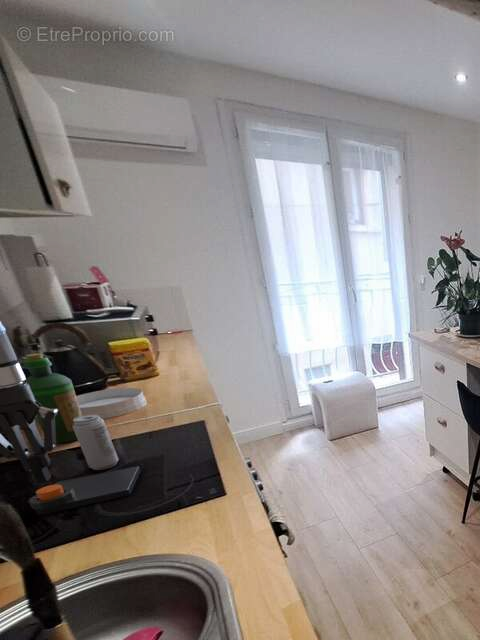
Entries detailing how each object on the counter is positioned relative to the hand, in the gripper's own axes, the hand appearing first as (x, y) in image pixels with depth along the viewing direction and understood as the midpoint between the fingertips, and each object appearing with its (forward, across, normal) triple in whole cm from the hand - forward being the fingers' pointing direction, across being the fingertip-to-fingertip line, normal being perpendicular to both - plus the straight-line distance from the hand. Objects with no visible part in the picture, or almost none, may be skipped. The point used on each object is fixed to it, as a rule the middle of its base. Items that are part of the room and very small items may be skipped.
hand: (44, 479), depth 96 cm
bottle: (+8, +10, -50) cm, 51 cm away
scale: (+8, -5, -5) cm, 10 cm away
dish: (+8, +6, -77) cm, 77 cm away
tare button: (+5, 0, 0) cm, 5 cm away
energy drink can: (+8, -4, -21) cm, 22 cm away
